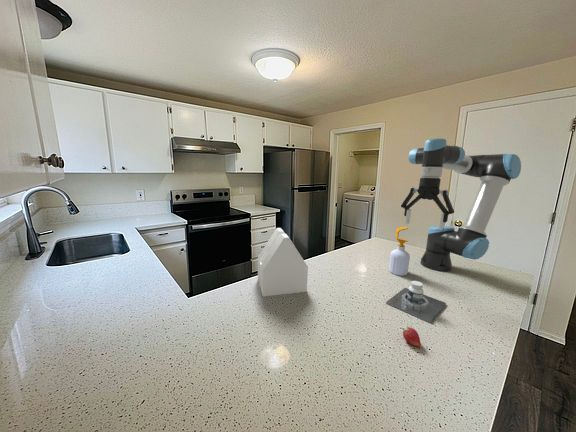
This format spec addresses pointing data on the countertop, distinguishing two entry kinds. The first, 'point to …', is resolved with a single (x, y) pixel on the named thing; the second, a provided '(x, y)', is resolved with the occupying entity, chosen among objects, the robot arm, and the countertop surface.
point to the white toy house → (281, 267)
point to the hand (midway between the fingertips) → (423, 226)
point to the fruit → (411, 336)
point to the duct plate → (419, 314)
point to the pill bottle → (415, 292)
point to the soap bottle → (399, 257)
